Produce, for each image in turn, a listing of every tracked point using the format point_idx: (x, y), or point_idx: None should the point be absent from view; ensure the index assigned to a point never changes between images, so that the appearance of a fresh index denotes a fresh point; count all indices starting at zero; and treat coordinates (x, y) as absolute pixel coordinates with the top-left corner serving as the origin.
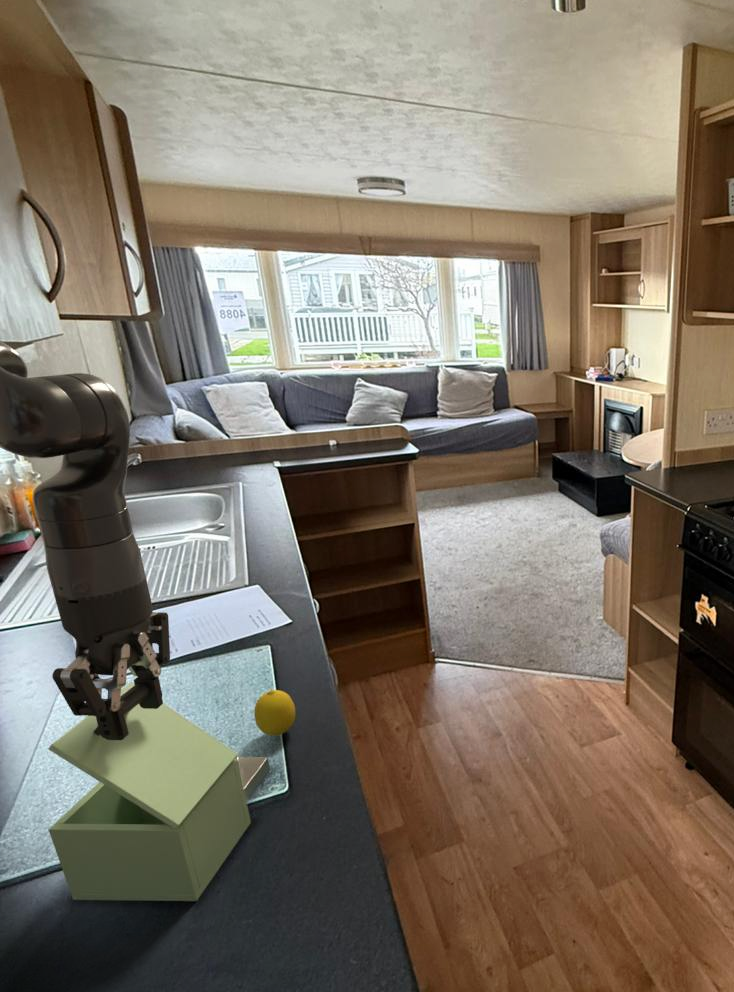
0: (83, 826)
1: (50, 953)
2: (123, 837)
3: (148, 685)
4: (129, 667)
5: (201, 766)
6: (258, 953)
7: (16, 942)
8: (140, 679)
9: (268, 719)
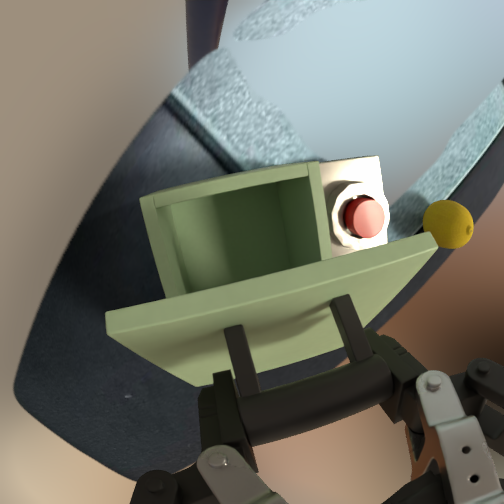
0: (159, 248)
1: (105, 232)
2: None
3: (387, 402)
4: (425, 422)
5: (294, 358)
6: (169, 398)
7: (104, 185)
8: (404, 393)
9: (436, 233)
